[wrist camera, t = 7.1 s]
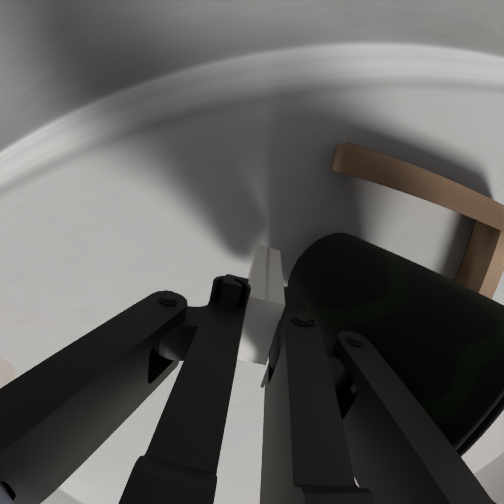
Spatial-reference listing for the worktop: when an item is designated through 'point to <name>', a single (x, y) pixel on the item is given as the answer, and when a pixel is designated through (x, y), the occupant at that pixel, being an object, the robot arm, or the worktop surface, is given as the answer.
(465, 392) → the cup
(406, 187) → the wooden u-shaped bracket
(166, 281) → the worktop surface
